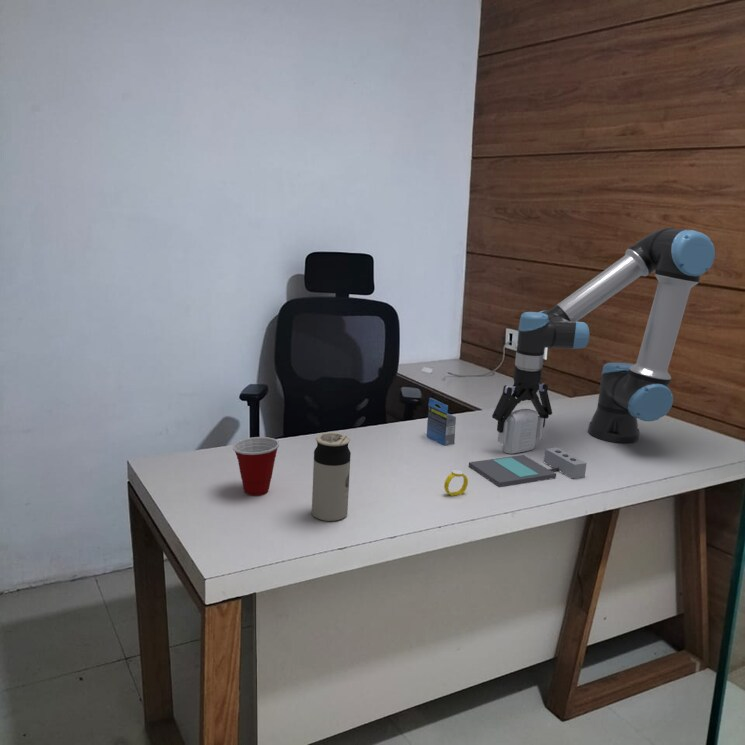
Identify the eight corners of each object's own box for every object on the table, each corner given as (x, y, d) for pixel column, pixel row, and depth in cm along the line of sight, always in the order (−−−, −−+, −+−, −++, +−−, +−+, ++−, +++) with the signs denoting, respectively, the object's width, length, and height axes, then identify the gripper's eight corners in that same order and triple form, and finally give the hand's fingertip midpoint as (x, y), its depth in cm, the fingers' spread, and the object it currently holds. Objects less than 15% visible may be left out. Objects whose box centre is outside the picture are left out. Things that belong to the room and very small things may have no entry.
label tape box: (454, 444, 207) (458, 403, 204) (444, 446, 204) (447, 405, 201) (435, 434, 214) (439, 395, 211) (425, 436, 211) (428, 397, 208)
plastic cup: (237, 480, 173) (237, 433, 170) (281, 482, 173) (282, 436, 170) (227, 499, 163) (227, 449, 160) (274, 502, 163) (275, 453, 160)
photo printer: (525, 445, 209) (530, 405, 206) (536, 450, 206) (541, 409, 203) (500, 450, 204) (504, 409, 200) (510, 455, 200) (515, 413, 197)
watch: (461, 491, 175) (465, 468, 174) (467, 495, 173) (471, 473, 172) (441, 493, 172) (444, 470, 171) (447, 498, 170) (451, 474, 169)
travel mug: (305, 517, 156) (308, 440, 152) (320, 503, 163) (323, 429, 159) (338, 525, 154) (342, 447, 149) (352, 510, 161) (356, 435, 156)
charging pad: (522, 458, 198) (523, 454, 198) (555, 478, 186) (556, 473, 186) (468, 466, 190) (469, 461, 190) (499, 487, 178) (499, 481, 178)
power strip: (554, 460, 198) (556, 446, 197) (584, 477, 188) (586, 462, 187) (529, 464, 194) (530, 450, 193) (558, 481, 184) (560, 466, 183)
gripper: (553, 362, 207) (544, 432, 212) (484, 366, 196) (476, 440, 202) (571, 368, 200) (561, 440, 206) (500, 373, 190) (492, 449, 195)
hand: (519, 440), depth 204 cm, fingers open, 12 cm apart
